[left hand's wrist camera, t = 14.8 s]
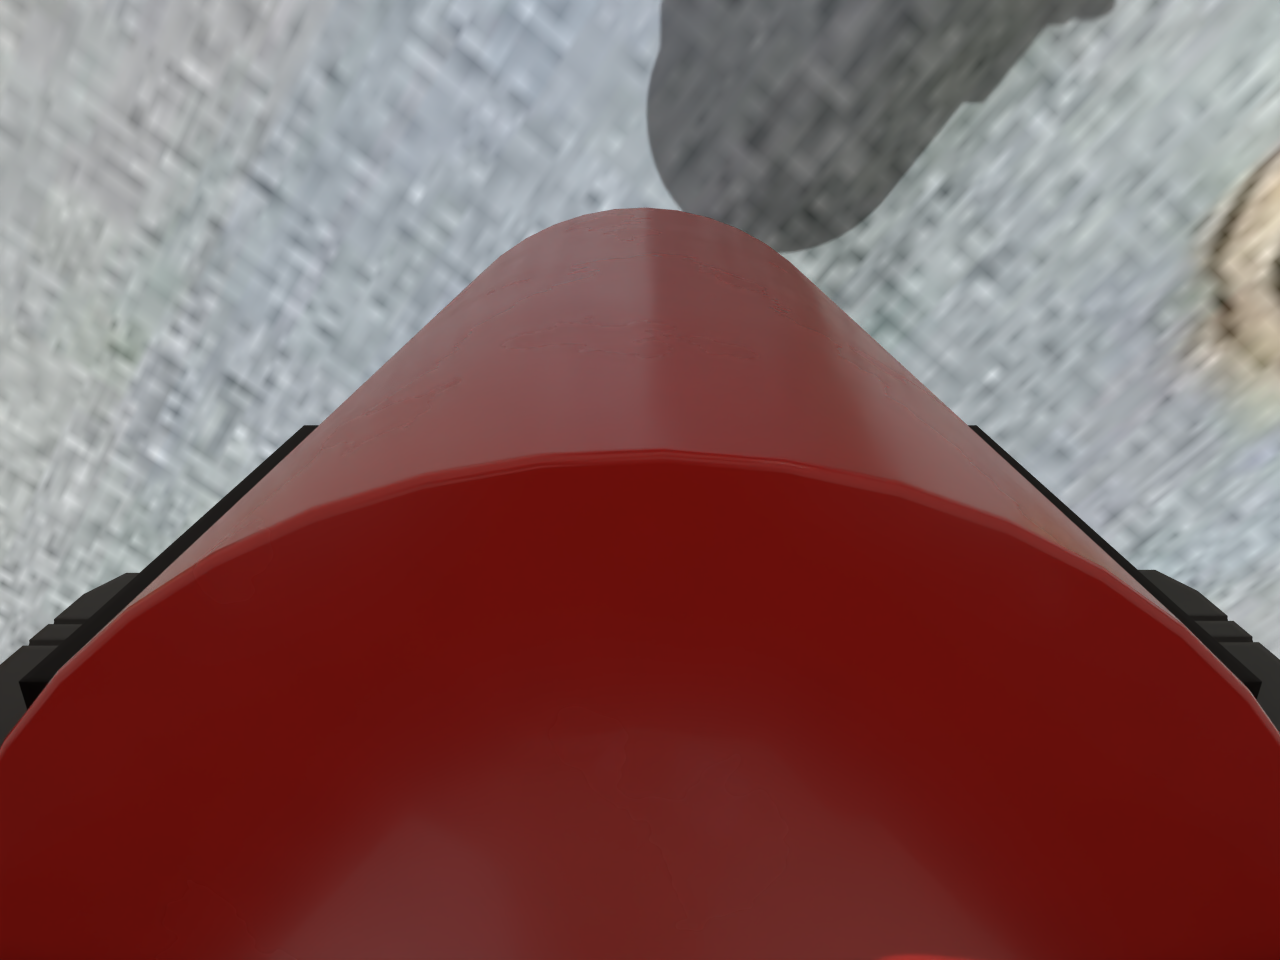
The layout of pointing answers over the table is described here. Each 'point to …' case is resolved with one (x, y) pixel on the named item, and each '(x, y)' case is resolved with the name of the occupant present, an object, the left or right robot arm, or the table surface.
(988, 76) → the table surface
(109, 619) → the left robot arm
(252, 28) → the table surface
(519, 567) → the tin
